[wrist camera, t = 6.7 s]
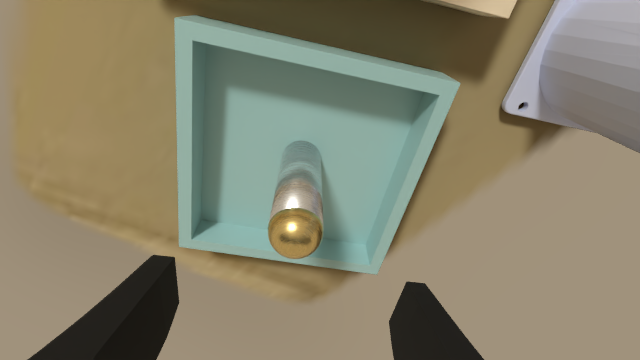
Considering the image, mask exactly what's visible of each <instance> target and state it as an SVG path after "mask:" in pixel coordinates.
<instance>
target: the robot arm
mask: <svg viewBox="0 0 640 360" xmlns="http://www.w3.org/2000/svg"><path fill="white" fill-rule="evenodd" d="M523 102H524V106H523V107H522V108H521V109H518V107H519V105H520V104H521V103H523ZM502 109H503V110H504V111H505V112H507V113H509V114H513V115H518V116H522V117H527V118H531V119H536V120H540V121H545V122H549V123H554V124H559V125H563V126H568V127H572V128H577V129H581V130H586V131H590V132H595V133H598V134H600V135H602V136H605V137H607V138H609V139H611V140H613V141H615V142H617V143H619V144H622V145H624V146H626V147H628V148H630V149H632V150H634V151H636V152H639V153H640V0H555V1H554V3H553V5H552V7H551V9H550V11H549V13H548V15H547V17H546V19H545V21H544V23H543V25H542V27H541V28H540V30H539V32H538V34H537V36H536V38H535V40H534V42H533V44H532V46H531V48H530V50H529V52H528V54H527V55H526V57H525V59H524V61H523V63H522V65H521V67H520V69H519V71H518V73H517V75H516V77H515V79H514V81H513V83H512V84H511V86H510V88H509V90H508V92H507V94H506V96H505V98H504V100H503V102H502ZM178 304H179V297H178V286H177V276H176V266H175V257H168V256H159V255H153V256H151V257H150V258H149V259H148V260H146V261H145V262H144V263H143V264H142V265H141V266H140V267H139V268H138V269H137V270H136V271H134V272H133V273H132V274H131V275H130V276H129V277H128V278H127V279H125V281H123V282H122V283H121V284H120V285H119V286H118V287H116V288H115V290H113V291H112V292H111V293H110V294H108V295H107V296H106V297H105V298H104V299H103V300H101V301H100V302H99V303H98V304H97V305H96V306H94V307H93V308H92V309H91V310H90V311H89V312H87V313H86V314H85V315H84V316H83V317H81V318H80V319H79V320H78V321H76V322H75V323H74V324H73V325H71V326H70V327H69V328H68V329H66V330H65V331H64V332H63V333H61V334H60V335H59V336H58V337H56V338H55V339H54V340H52V341H51V342H50V343H49V344H47V345H46V346H45V347H44V348H42V349H41V350H40V351H39V352H37V353H36V354H35V355H33V356H32V357H31V358H29V359H28V360H156V359H157V357H158V355H159V353H160V351H161V348H162V347H163V344H164V342H165V340H166V338H167V335H168V333H169V330H170V327H171V324H172V321H173V319H174V316H175V313H176V310H177V307H178ZM389 326H390V333H391V334H390V335H391V342H392V349H393V356H394V360H484V359H483V358H482V356H481V355H480V354H479V353H478V352H477V350H476V349H475V348H474V347H473V345H472V344H471V343H470V342H469V340H468V339H467V338H466V337H465V335H464V334H463V333H462V331H460V329H459V328H458V326H457V325H456V324H455V322H454V321H453V320H452V319H451V317H450V316H449V315H448V314H447V312H446V311H445V309H444V308H443V307H442V305H441V304H440V303H439V301H438V300H437V299H436V298H435V296H434V295H433V294H432V292H431V291H430V289H428V287H427V286H426V284H425V283H416V282H406V284H405V286H404V289H403V291H402V293H401V296H400V298H399V300H398V302H397V305H396V307H395V309H394V311H393V314H392V316H391V318H390V320H389Z"/></svg>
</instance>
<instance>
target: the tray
mask: <svg viewBox="0 0 640 360" xmlns="http://www.w3.org/2000/svg"><path fill="white" fill-rule="evenodd" d="M175 67H176V116H177V166H178V216H179V247H185V248H192V249H199V250H206V251H213V252H220V253H227V254H234V255H241V256H248V257H255V258H263V259H270V260H277V261H284V262H291V263H298V264H305V265H312V266H319V267H326V268H333V269H340V270H347V271H354V272H361V273H368V274H376V275H377V274H378V271H379V269H380V267H381V265H382V262H383V260H384V258H385V256H386V253H387V251H388V249H389V246H390V244H391V242H392V239H393V237H394V235H395V233H396V230H397V228H398V226H399V223H400V221H401V219H402V216H403V214H404V212H405V210H406V207H407V205H408V203H409V200H410V198H411V196H412V193H413V191H414V189H415V187H416V184H417V182H418V180H419V177H420V175H421V173H422V171H423V168H424V166H425V164H426V161H427V159H428V157H429V154H430V152H431V150H432V148H433V145H434V143H435V141H436V138H437V136H438V134H439V131H440V129H441V127H442V125H443V122H444V120H445V118H446V115H447V113H448V111H449V108H450V106H451V104H452V102H453V99H454V97H455V95H456V92H457V90H458V88H459V86H460V83H459V82H458V81H456V80H454V79H452V78H451V77H449V76H447V75H445V74H444V73H442V72H439V71H435V70H431V69H426V68H422V67H418V66H414V65H409V64H405V63H401V62H396V61H392V60H388V59H383V58H379V57H375V56H370V55H366V54H362V53H357V52H353V51H349V50H344V49H340V48H336V47H332V46H327V45H323V44H319V43H314V42H310V41H306V40H301V39H297V38H293V37H288V36H284V35H280V34H275V33H271V32H267V31H262V30H258V29H254V28H250V27H245V26H241V25H237V24H232V23H228V22H224V21H219V20H215V19H211V18H206V17H202V16H198V15H191V16H183V17H176V18H175ZM300 140H302V141H307V142H310V143H312V144H313V145H315V146H316V147H317V149H318V150H319V152H320V156H321V179H322V203H323V227H324V232H323V238H322V241H321V243H320V245H319V247H318V248H317V249H316V250H315V251H314V252H313V253H312V254H311V255H309V256H307V257H304V258H301V259H289V258H286V257H284V256H282V255H280V254H279V253H277V252H276V251H275V250H274V248H273V247H272V245H271V244H270V241H269V238H268V224H269V219H270V214H271V209H272V204H273V199H274V194H275V189H276V184H277V179H278V174H279V170H280V165H281V160H282V155H283V151H284V149H285V148H286V147H287V146H288V145H289V144H290V143H292V142H295V141H300Z"/></svg>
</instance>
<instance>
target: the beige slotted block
mask: <svg viewBox="0 0 640 360" xmlns="http://www.w3.org/2000/svg"><path fill="white" fill-rule="evenodd" d="M422 1H425V2H429V3H433V4H437V5H441V6H445V7H449V8H452V9H456V10H460V11H464V12H468V13H472V14H475V15H479V16H488V17H499V18H509V17H510V14H511V12H512V10H513V8H514V6H515V4H516V1H517V0H422Z"/></svg>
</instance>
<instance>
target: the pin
mask: <svg viewBox="0 0 640 360" xmlns="http://www.w3.org/2000/svg"><path fill="white" fill-rule="evenodd" d="M323 232H324V227H323V203H322V179H321V156H320V152H319V150H318V149H317V147H316V146H315V145H313V144H312V143H310V142H307V141H302V140H300V141H295V142H292V143H290V144H289V145H288V146H287V147H286V148H285V149H284V151H283V155H282V160H281V165H280V170H279V174H278V179H277V184H276V189H275V194H274V199H273V204H272V209H271V214H270V219H269V224H268V238H269V241H270V244H271V245H272V247H273V248H274V250H275V251H276V252H277V253H279V254H280V255H282V256H284V257H286V258H289V259H301V258H304V257H307V256H309V255H311V254H312V253H313V252H314V251H315V250H316V249H317V248H318V247H319V245H320V243H321V241H322V238H323Z"/></svg>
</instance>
